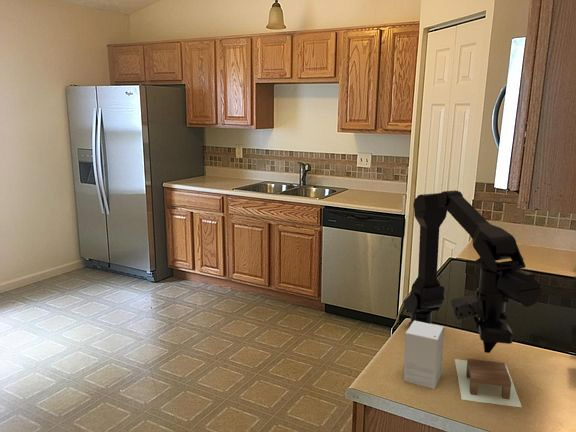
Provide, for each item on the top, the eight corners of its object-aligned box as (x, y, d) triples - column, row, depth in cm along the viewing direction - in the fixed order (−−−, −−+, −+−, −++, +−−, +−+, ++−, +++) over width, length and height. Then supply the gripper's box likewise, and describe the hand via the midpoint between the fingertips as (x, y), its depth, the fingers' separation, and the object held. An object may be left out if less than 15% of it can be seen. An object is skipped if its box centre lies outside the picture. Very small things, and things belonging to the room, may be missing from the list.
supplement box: (442, 374, 111) (445, 326, 108) (434, 390, 105) (437, 339, 102) (411, 366, 115) (413, 319, 112) (402, 381, 109) (404, 332, 106)
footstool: (467, 358, 109) (471, 377, 102) (504, 362, 108) (511, 382, 100) (466, 374, 110) (470, 394, 103) (502, 378, 108) (509, 399, 101)
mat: (454, 360, 117) (454, 359, 117) (506, 365, 114) (506, 364, 114) (461, 400, 101) (461, 399, 101) (521, 408, 98) (521, 407, 98)
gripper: (451, 271, 115) (447, 329, 118) (458, 302, 97) (453, 369, 101) (500, 275, 112) (494, 334, 116) (516, 307, 94) (509, 375, 98)
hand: (486, 351), depth 107 cm, fingers closed
